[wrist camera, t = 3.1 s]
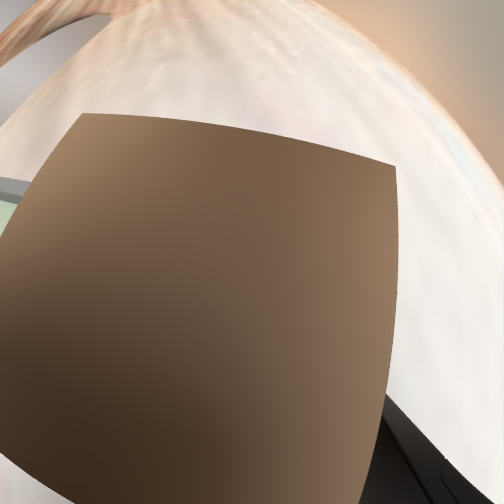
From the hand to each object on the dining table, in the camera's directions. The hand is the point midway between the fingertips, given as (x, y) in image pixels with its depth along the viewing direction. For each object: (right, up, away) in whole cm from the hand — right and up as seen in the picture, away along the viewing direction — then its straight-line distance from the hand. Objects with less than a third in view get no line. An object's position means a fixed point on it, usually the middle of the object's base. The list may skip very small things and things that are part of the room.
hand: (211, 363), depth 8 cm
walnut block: (0, -3, +7) cm, 8 cm away
